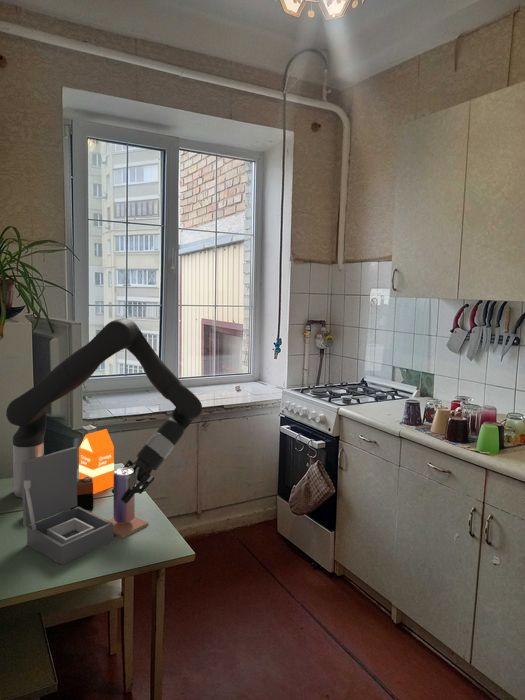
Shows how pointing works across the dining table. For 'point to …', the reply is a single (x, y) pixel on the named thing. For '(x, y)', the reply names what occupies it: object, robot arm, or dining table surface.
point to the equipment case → (59, 509)
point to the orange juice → (97, 460)
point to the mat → (127, 527)
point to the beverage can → (121, 485)
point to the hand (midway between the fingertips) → (118, 497)
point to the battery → (85, 493)
